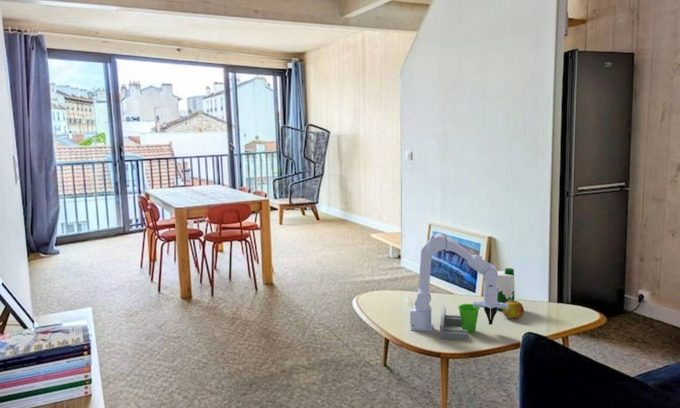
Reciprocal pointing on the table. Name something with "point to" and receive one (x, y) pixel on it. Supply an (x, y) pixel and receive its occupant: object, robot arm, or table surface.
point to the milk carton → (505, 286)
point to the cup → (468, 317)
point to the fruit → (513, 309)
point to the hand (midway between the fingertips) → (490, 323)
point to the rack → (452, 333)
